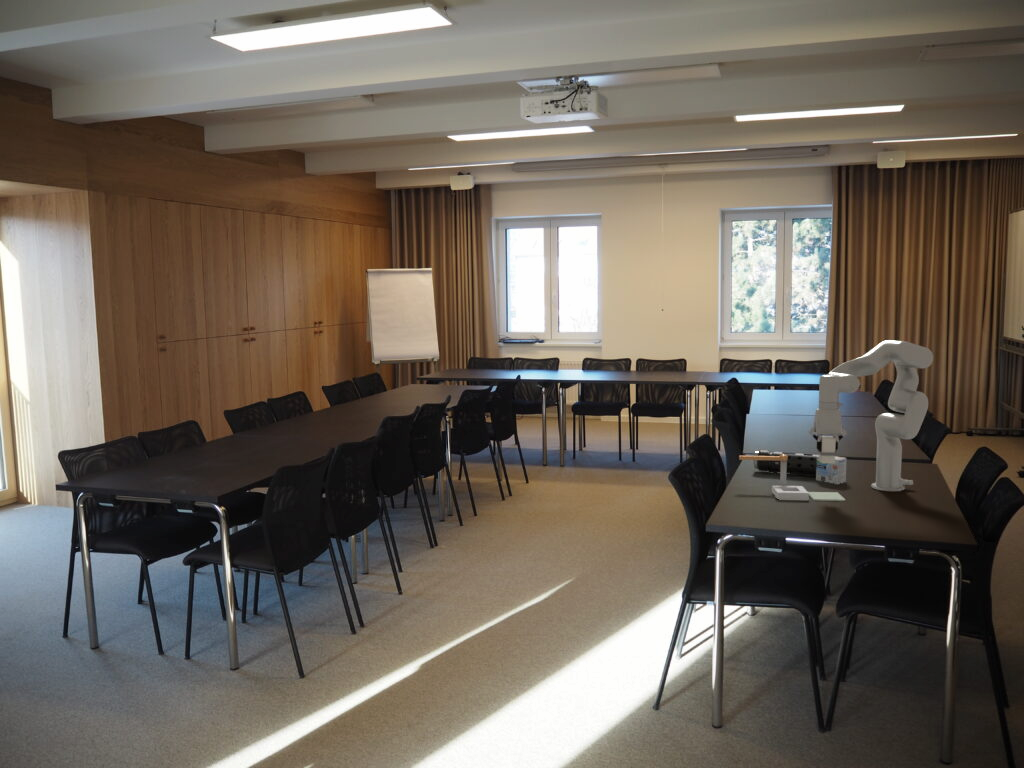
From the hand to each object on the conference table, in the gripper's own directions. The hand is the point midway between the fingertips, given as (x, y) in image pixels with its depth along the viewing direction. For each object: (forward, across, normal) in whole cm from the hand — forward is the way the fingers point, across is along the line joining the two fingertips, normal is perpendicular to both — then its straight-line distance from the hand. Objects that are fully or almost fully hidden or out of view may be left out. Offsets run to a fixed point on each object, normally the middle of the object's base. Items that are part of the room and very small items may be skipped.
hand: (827, 450), depth 339 cm
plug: (+5, 0, 0) cm, 5 cm away
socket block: (+19, +14, -5) cm, 24 cm away
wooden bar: (+7, +22, -14) cm, 27 cm away
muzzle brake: (+19, +7, -42) cm, 47 cm away
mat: (+19, 0, 0) cm, 19 cm away
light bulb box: (+19, -9, -29) cm, 36 cm away
